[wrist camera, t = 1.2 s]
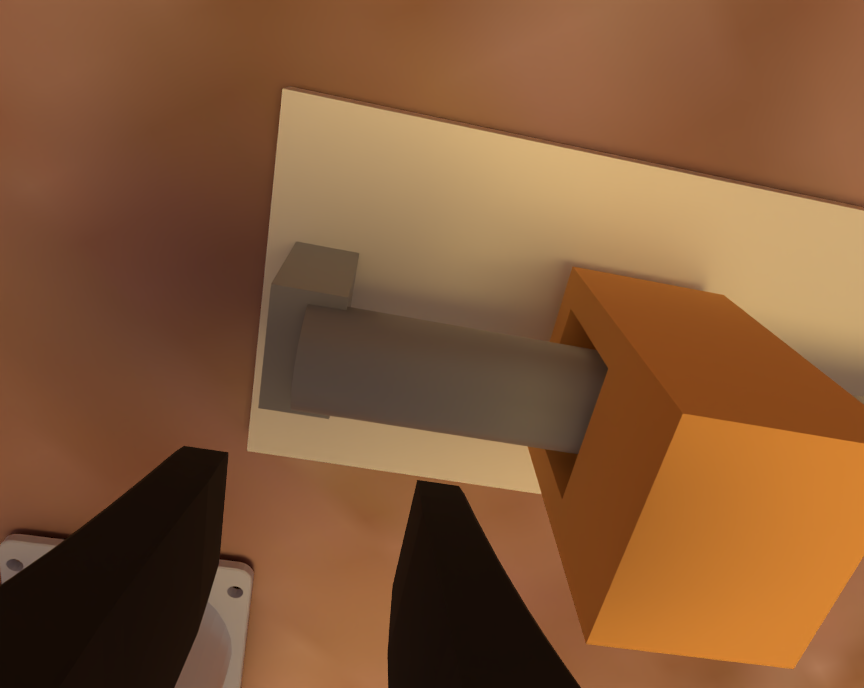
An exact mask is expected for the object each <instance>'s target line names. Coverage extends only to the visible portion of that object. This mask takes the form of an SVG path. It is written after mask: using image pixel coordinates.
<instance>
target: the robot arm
mask: <svg viewBox="0 0 864 688" xmlns="http://www.w3.org/2000/svg"><path fill="white" fill-rule="evenodd" d="M227 464H228V452H221V451H215V450H208V449H201V448H194V447H187V446H183V447H182V448H180V449H179V450H177V451H176V452H174V453H173V454H172V455H171V456H170V457H168V458H167V459H166V460H165V461H163V462H162V463H161V464H160V465H159V466H157V467H156V468H155V469H154V470H153V471H151V472H150V473H149V474H148V475H147V476H145V477H144V478H143V479H142V480H141V481H139V482H138V483H137V484H136V485H135V486H133V487H132V488H131V489H130V490H128V491H127V492H126V493H125V494H123V495H122V496H121V497H120V498H118V499H117V500H116V501H115V502H113V503H112V504H111V505H110V506H108V507H107V508H106V509H104V510H103V511H102V512H100V513H99V514H98V515H97V516H95V517H94V518H93V519H91V520H90V521H89V522H87V523H86V524H85V525H83V526H82V527H81V528H80V529H78V530H77V531H76V532H74V533H73V534H72V535H70V536H69V537H68V538H66V539H65V540H64V539H56V538H48V537H40V536H32V535H24V534H11V535H9V536H7V537H6V538H5V539H4V541H3V542H2V543H1V544H0V572H1V582H2V584H1V585H0V688H241V683H242V674H243V665H244V656H245V648H246V639H247V630H248V622H249V613H250V604H251V595H252V587H253V578H254V573H253V570H252V568H251V567H250V566H249V565H247V564H245V563H242V562H236V561H228V560H220V547H221V535H222V523H223V511H224V500H225V488H226V476H227ZM17 560H19V561H20V562H19V561H17ZM232 586H237V587H240V588H241V589H236V588H233V587H232ZM388 688H581V687H580V686H579V684H578V683H577V681H576V680H575V679H574V677H573V676H572V674H571V673H570V672H569V670H568V669H567V667H566V666H565V665H564V663H563V662H562V660H561V659H560V657H559V656H558V654H557V653H556V651H555V650H554V648H553V647H552V645H551V644H550V643H549V641H548V640H547V638H546V637H545V635H544V634H543V632H542V631H541V629H540V627H539V626H538V624H537V623H536V621H535V620H534V618H533V617H532V615H531V613H530V612H529V610H528V609H527V607H526V605H525V604H524V602H523V600H522V599H521V597H520V595H519V594H518V592H517V590H516V589H515V587H514V585H513V584H512V582H511V580H510V579H509V577H508V575H507V574H506V572H505V570H504V569H503V567H502V565H501V563H500V561H499V560H498V558H497V556H496V554H495V552H494V551H493V549H492V547H491V545H490V543H489V541H488V540H487V538H486V536H485V534H484V532H483V530H482V528H481V526H480V524H479V523H478V521H477V519H476V517H475V515H474V513H473V511H472V509H471V507H470V505H469V503H468V501H467V499H466V497H465V494H464V493H463V491H462V490H461V489H460V487H459V486H454V485H447V484H441V483H434V482H427V481H420V480H417V484H416V488H415V493H414V497H413V501H412V505H411V510H410V514H409V518H408V523H407V527H406V531H405V535H404V540H403V544H402V548H401V552H400V557H399V561H398V565H397V570H396V574H395V578H394V582H393V588H392V601H391V614H390V627H389V642H388Z"/></svg>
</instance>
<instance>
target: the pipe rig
mask: <svg viewBox="0 0 864 688" xmlns="http://www.w3.org/2000/svg"><path fill="white" fill-rule="evenodd" d="M572 266H573V267H579V268H584V269H589V270H595V271H600V272H605V273H610V274H616V275H621V276H626V277H632V278H637V279H642V280H647V281H653V282H658V283H663V284H669V285H674V286H679V287H685V288H690V289H695V290H700V291H706V292H711V293H716V294H722V295H724V296H726V297H727V298H728V299H730V300H731V301H732V302H733V303H735V304H736V305H737V306H739V307H740V308H741V309H742V310H744V311H745V312H746V313H747V314H749V315H750V316H751V317H753V318H754V319H755V320H756V321H758V322H759V323H760V324H762V325H763V326H764V327H765V328H767V329H768V330H769V331H770V332H772V333H773V334H774V335H776V336H777V337H778V338H779V339H781V340H782V341H783V342H785V343H786V344H787V345H788V346H790V347H791V348H792V349H793V350H795V351H796V352H797V353H799V354H800V355H801V356H802V357H804V358H805V359H806V360H808V361H809V362H810V363H811V364H813V365H814V366H815V367H816V368H818V369H819V370H820V371H822V372H823V373H824V374H825V375H827V376H828V377H829V378H831V379H832V380H833V381H834V382H836V383H837V384H838V385H840V386H841V387H842V388H843V389H845V390H846V391H847V392H848V393H850V394H851V395H852V396H854V397H855V398H856V399H857V400H859V401H860V402H861V403H863V404H864V207H860V206H856V205H851V204H846V203H842V202H837V201H832V200H827V199H823V198H818V197H813V196H808V195H804V194H799V193H794V192H789V191H785V190H780V189H775V188H770V187H766V186H761V185H756V184H751V183H747V182H742V181H737V180H732V179H728V178H723V177H718V176H713V175H709V174H704V173H699V172H694V171H690V170H685V169H680V168H676V167H671V166H666V165H661V164H657V163H652V162H647V161H642V160H638V159H633V158H628V157H623V156H619V155H614V154H609V153H604V152H600V151H595V150H590V149H585V148H581V147H576V146H571V145H566V144H562V143H557V142H552V141H547V140H543V139H538V138H533V137H529V136H524V135H519V134H514V133H510V132H505V131H500V130H495V129H491V128H486V127H481V126H476V125H472V124H467V123H462V122H457V121H453V120H448V119H443V118H438V117H434V116H429V115H424V114H419V113H415V112H410V111H405V110H400V109H396V108H391V107H386V106H382V105H377V104H372V103H367V102H363V101H358V100H353V99H348V98H344V97H339V96H334V95H329V94H325V93H320V92H315V91H310V90H306V89H301V88H296V87H291V86H289V87H286V88H283V89H282V99H281V109H280V119H279V130H278V140H277V150H276V160H275V170H274V180H273V191H272V201H271V211H270V221H269V231H268V242H267V252H266V262H265V272H264V282H263V292H262V303H261V313H260V323H259V333H258V343H257V353H256V364H255V374H254V384H253V394H252V404H251V414H250V425H249V435H248V445H247V451H251V452H257V453H264V454H271V455H278V456H285V457H292V458H298V459H305V460H312V461H319V462H326V463H332V464H339V465H346V466H353V467H360V468H367V469H373V470H380V471H387V472H394V473H401V474H407V475H414V476H421V477H428V478H435V479H442V480H448V481H455V482H462V483H469V484H476V485H482V486H489V487H496V488H503V489H510V490H516V491H523V492H530V493H537V494H541V490H540V487H539V483H538V480H537V477H536V473H535V470H534V467H533V463H532V460H531V456H530V453H529V450H528V447H534V448H541V449H547V450H554V451H560V452H567V453H573V454H578V453H579V450H580V447H581V445H582V442H583V439H584V436H585V433H586V430H587V428H588V425H589V422H590V419H591V416H592V413H593V411H594V408H595V405H596V402H597V399H598V396H599V394H600V391H601V388H602V385H603V382H604V379H605V377H606V374H607V371H608V367H607V366H606V364H605V362H604V361H603V359H602V358H601V356H600V354H599V353H598V351H597V350H593V349H588V348H582V347H576V346H570V345H565V344H559V343H553V342H550V339H551V335H552V332H553V329H554V326H555V322H556V319H557V316H558V312H559V309H560V306H561V303H562V299H563V296H564V293H565V289H566V286H567V283H568V280H569V276H570V273H571V270H572Z"/></svg>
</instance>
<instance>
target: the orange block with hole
mask: <svg viewBox="0 0 864 688" xmlns="http://www.w3.org/2000/svg"><path fill="white" fill-rule="evenodd" d="M550 342H553V343H559V344H565V345H570V346H576V347H582V348H588V349H593V350H597V351H598V353H599V354H600V356H601V358H602V359H603V361H604V362H605V364H606V366H607V367H608V371H607V374H606V377H605V379H604V382H603V385H602V388H601V391H600V394H599V396H598V399H597V402H596V405H595V408H594V411H593V413H592V416H591V419H590V422H589V425H588V428H587V430H586V433H585V436H584V439H583V442H582V445H581V447H580V450H579V453H578V454H573V453H567V452H560V451H554V450H547V449H541V448H534V447H528V450H529V453H530V456H531V460H532V463H533V467H534V470H535V473H536V477H537V480H538V483H539V487H540V490H541V494H542V497H543V500H544V504H545V507H546V510H547V514H548V517H549V521H550V524H551V527H552V531H553V534H554V537H555V541H556V544H557V547H558V551H559V554H560V558H561V561H562V564H563V568H564V571H565V574H566V578H567V581H568V585H569V588H570V591H571V595H572V598H573V601H574V605H575V608H576V612H577V615H578V618H579V622H580V625H581V628H582V632H583V635H584V638H585V642H586V644H591V645H599V646H607V647H616V648H624V649H632V650H641V651H649V652H657V653H665V654H674V655H682V656H690V657H699V658H707V659H715V660H723V661H732V662H740V663H748V664H757V665H765V666H773V667H781V668H790V669H794V667H795V666H796V664H797V663H798V661H799V659H800V658H801V656H802V654H803V653H804V651H805V650H806V648H807V646H808V645H809V643H810V642H811V640H812V638H813V637H814V635H815V633H816V632H817V630H818V629H819V627H820V625H821V624H822V622H823V621H824V619H825V617H826V616H827V614H828V613H829V611H830V609H831V608H832V606H833V604H834V603H835V601H836V600H837V598H838V596H839V595H840V593H841V592H842V590H843V588H844V587H845V585H846V584H847V582H848V580H849V579H850V577H851V575H852V574H853V572H854V571H855V569H856V567H857V566H858V564H859V563H860V561H861V559H862V558H863V556H864V404H863V403H861V402H860V401H859V400H857V399H856V398H855V397H854V396H852V395H851V394H850V393H848V392H847V391H846V390H845V389H843V388H842V387H841V386H840V385H838V384H837V383H836V382H834V381H833V380H832V379H831V378H829V377H828V376H827V375H825V374H824V373H823V372H822V371H820V370H819V369H818V368H816V367H815V366H814V365H813V364H811V363H810V362H809V361H808V360H806V359H805V358H804V357H802V356H801V355H800V354H799V353H797V352H796V351H795V350H793V349H792V348H791V347H790V346H788V345H787V344H786V343H785V342H783V341H782V340H781V339H779V338H778V337H777V336H776V335H774V334H773V333H772V332H770V331H769V330H768V329H767V328H765V327H764V326H763V325H762V324H760V323H759V322H758V321H756V320H755V319H754V318H753V317H751V316H750V315H749V314H747V313H746V312H745V311H744V310H742V309H741V308H740V307H739V306H737V305H736V304H735V303H733V302H732V301H731V300H730V299H728V298H727V297H726V296H724V295H722V294H716V293H711V292H706V291H700V290H695V289H690V288H685V287H679V286H674V285H669V284H663V283H658V282H653V281H647V280H642V279H637V278H632V277H626V276H621V275H616V274H610V273H605V272H600V271H595V270H589V269H584V268H579V267H573V266H572V270H571V273H570V276H569V280H568V283H567V286H566V289H565V293H564V296H563V299H562V303H561V306H560V309H559V312H558V316H557V319H556V322H555V326H554V329H553V332H552V335H551V339H550Z"/></svg>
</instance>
